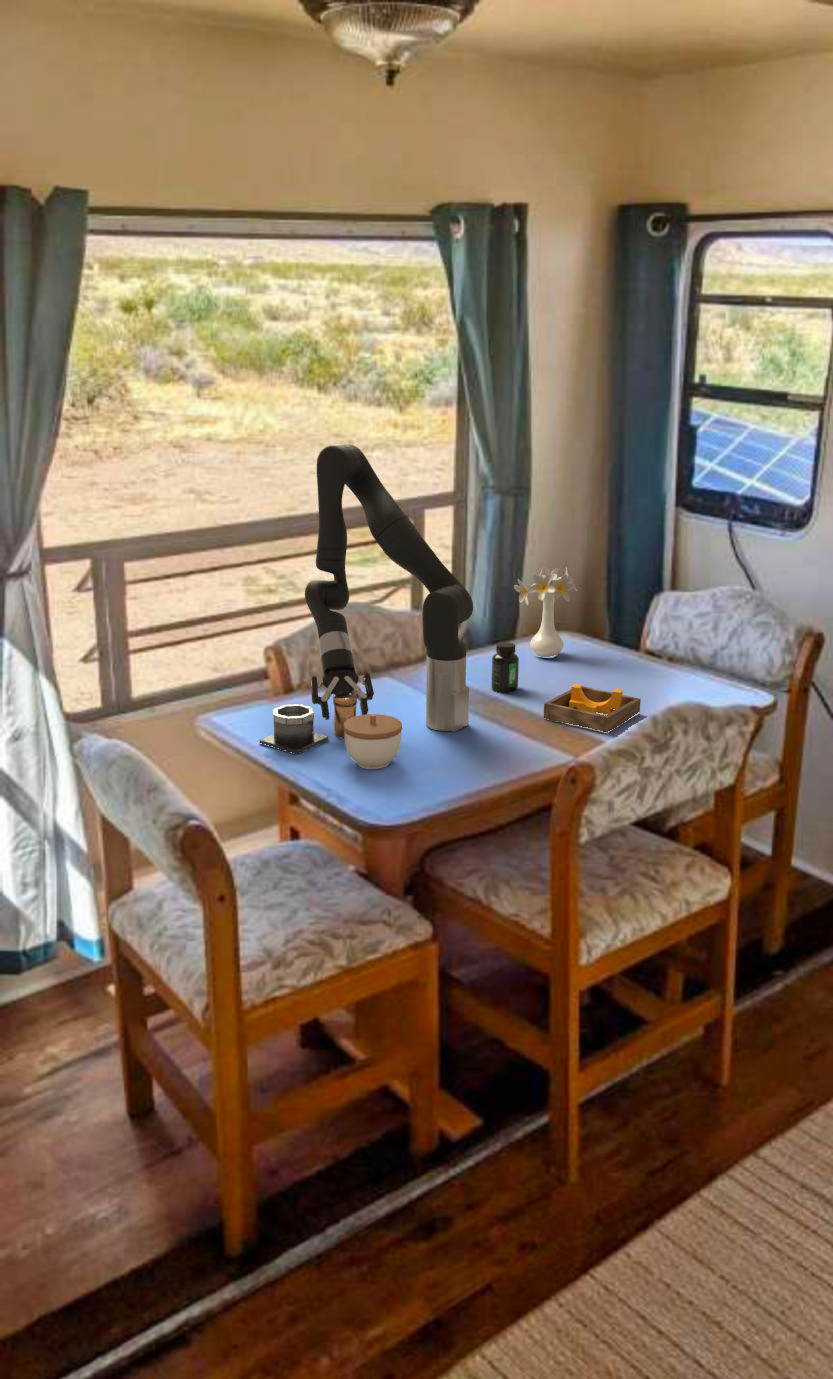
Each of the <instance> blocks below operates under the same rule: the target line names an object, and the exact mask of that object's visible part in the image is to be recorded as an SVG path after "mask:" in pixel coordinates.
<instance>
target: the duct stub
mask: <svg viewBox="0 0 833 1379" xmlns="http://www.w3.org/2000/svg"><path fill="white" fill-rule="evenodd" d="M314 712H315V711H314V707H312V706H309V705H304V704H297V703H296V704H283V705H281V706H278V707H275V708H273V709H272V717H273V718H272V720H273V733H272V734H270V735H268V736H265V737H262V738H261V739H259V744H260V743H262V744H266V745H269V746H273V747H275V748H279V749H281V750H280V751H282V750H286V751H287V752H286V753H289V752H292V753H294V754H293V755H295V754H297V755H299V754H301V753H303V751H304V752H305V750H306V751H308V750H310V749H312V748H314V747H318V746H320V745H321V744H324V743H326V742H329V736H328V735H325V734H322V733H318V732H315V725H314V723H315V722H314V721H315V720H314V719H315V713H314ZM262 744H261V745H262ZM275 748H274V749H275ZM300 752H301V753H300ZM292 753H291V754H292ZM298 753H299V754H298Z"/></svg>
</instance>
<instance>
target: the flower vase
mask: <svg viewBox="0 0 833 1379" xmlns="http://www.w3.org/2000/svg"><path fill="white" fill-rule="evenodd" d="M559 571H560V568H559V567H557V568H554V569H553V570H552V571H551V572H550V570H549V568H548V567H547V566H542V568H541V570H540V572H539V574H537V573H535V574H533V576H532V579H533V581H534V583H533V584H531V585H530V586H529V587H527V586H526V585H525V584H523V582H522V581H521V579H517V583H518V585H517V584H515V585H513V589H514V590H515V591H516V592H518V593H520V594H519V595H518V602H519V603H520V604H522V603H524V601H525V604H526V605H527V606H529V604H530V603H529V597H530V596H529V595H530V594H532V593H537V598H538V600H539V601H542V615H541V616H542V617H541V624H540V627H539V629H538V631H537V633H536V634H534V635H533V636H532V638H531V640H530V643H529V646H530V649H531V650H532V651H533V653H536V655H538V656H541V657H550V656H554V655H556V654H557V655H558V654H559V653H560V652H561V651H562V650H563V648H564V642H563V639H562V637H561V636H560V635H559V633H557V631H556V627H555V621H554V613H555V612H554V610H555V608H554V607H555V606H554V605H555V601H557V600H559V599H560V598H561V597H562V598H563V599H564V600H565V601H566V602H570V601H571V596H570V593H569V592H570V591H572V590H574V591H575V592H579V591H578V589H577V587H576V584H575V583H574V581H575V580H574V578H573V576H572V575H569V570H568V567H567V566H566V567H565V573H564V574H562V575H561V576H559V577H558V574H559ZM536 655H535V656H536Z"/></svg>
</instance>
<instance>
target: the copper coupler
mask: <svg viewBox="0 0 833 1379" xmlns="http://www.w3.org/2000/svg"><path fill="white" fill-rule="evenodd" d="M332 700H333V701H332V702H333V705H334V706H333V713H334V716H333V717H334V722H333V723H334V728H333V729H334V736H335V737H337V738H340V739H345V736H344V723H345V721H346V720H348V719H350V718H352V717H355V716H357V704H358V699H357V697H356V696H354V695H352V694H351V693H350V694H339V695H336V696H335V695H333V698H332Z"/></svg>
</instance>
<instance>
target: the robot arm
mask: <svg viewBox="0 0 833 1379" xmlns="http://www.w3.org/2000/svg"><path fill="white" fill-rule="evenodd" d="M316 483H317V501H318V502H317V503H318V535H317V544H316V545H317V546H316V557H315V566H316V569H318V570H319V571H321V572H325V573H328V574H332V576H333V580H324V579H323V580H321V579H319V580H317V579H315V580H311V581H310V582H308V583H307V584H306V587H305V590H304V598H305V602H306V606H307V607H308V610H309V611H310V613H311V615H312V617H313V620H314V623H315V625H316V629H317V634H318V640H319V641H318V643H319V644H318V645H319V646H318V647H319V657H320V662H321V668H322V675H323V677H322V678H321V677H318V678H317V676H315V675H314V676H312V677H311V679H310V680H311V681H310V692H311V694H310V695H311V703H312V704H313V705H316V704H317V705H319V706H320V709H321V710H320V711H321V715H322V719H325V721H328V720H330V717H331V716H330V710H329V703H328V701H329V700H330V699H331V697H332V695H333V696H336V695H339V694H351V695H354V696H356V697H357V701H359V707H360V712H361V715H366V714H369V706H368V701H372V700H373V699H374V694H375V691H374V687H373V683H372V678H371V675H370V673H369V672H365V673H364V674H363V675H359V674H358V673H356V668H355V661H354V655H353V649H352V643H351V640H350V637H349V631H348V626H347V621H346V617H345V615H344V614H342V613H340V612H338V611H340V610H344V608H346V607H347V605H348V604H349V601H350V591H349V587H348V580H347V572H346V560H347V549H348V530H347V526H346V522H345V518H344V513H343V495H344V489H345V486H346V487H347V488H348V489H349V490H350V492H352V494H353V495H354V496H355V497H356V499H357V500H358V501H359V503H360V505H361V506H362V509H363V512H364V515H365V519H366V522H367V526H368V529H369V532H370V534H371V536H372V538H373V539H374V540H375V541H376V543H377V544H378V547H380V548H381V549H382V552H384V554H385V555H386V556H387V557H388V558H389V559H390V560H391V561H392V562H394V563H395V565H397V566H399V567H400V568H402V569H403V570H404V571H406V572H408V573H409V574H411V575H413V577H415V578H417V580H419V581H420V582H421V584H422V585H423V586H424V587H425V588H426V590H427V591H428V592H429V593H428V594H427V595H426V597H425V598H424V601H423V603H422V612H421V613H422V615H421V618H422V639H423V640H422V641H423V643H424V646H425V649H426V676H425V677H426V681H425V682H426V684H425V685H426V690H425V692H426V693H425V694H426V696H425V699H426V701H425V708H426V709H425V725H426V727H427V728H430V729H431V730H434V731H438V732H439V731H441V732H453V733H454V732H457V731H459V730H461V729H462V728H463V729H464V727H467V726H469V720H470V718H469V716H470V715H469V713H470V712H469V711H470V687H469V686H467V685H466V682H467V681H466V680H467V678H466V676H467V675H466V674H467V673H466V672H467V644H466V642H464V641H462V640H461V639H459V625H460V624H463V623H464V622H466V621H468V620H469V619H470V618H471V616H472V615H473V613H474V612H473V611H474V602H473V598H472V597H471V594H470V593H469V591H468V590H467V589H466V587H464V585H463V583H461V582H460V581H459V579H457V578H456V577H455V575H454V574H452V573H451V571H450V570H449V569H448V568H447V566H445V565H444V564H443V562H442V561H441V560H440V558H439V557H438V556H437V555H436V553H435V551H434V550H433V549H432V548H431V547H430V546H429V544H428V543H427V541H426V540H425V539H424V538H423V536H422V535H421V534H420V532H419V530H418V529H417V528H416V526H415V524H414V523H413V522H412V521H411V519H409V517H408V516H407V515H406V513H405V512H404V511H403V510H402V508H401V507H400V505H399V504H398V503H397V502H396V501H395V499H394V498H393V496H392V495H391V493H390V492H389V491H388V490H387V488H385V485H384V484H383V483H382V481H381V480H380V478H379V476H378V475H377V473H376V471H375V470H374V468H373V466H372V465H371V464H370V461H369V460H368V458H367V457H366V456H365V454H364V453H363V451H362V450H361V449H360V448H359V447H358V446H356V445H354V444H350V443H338V444H337V443H336V444H329V445H326V446H324V447H323V448H322V449H321V450H320V451H319V453H318V456H317V458H316ZM358 682H360V683H361V684H362V685H364V688H365V692H364V691H363V690H362V689H361V687H360V686H359V685H358ZM321 684H322V685H323V686H324V687H325V689H326V690H325V691H324V693H323V695H322V696H319V688H320V686H321Z"/></svg>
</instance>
